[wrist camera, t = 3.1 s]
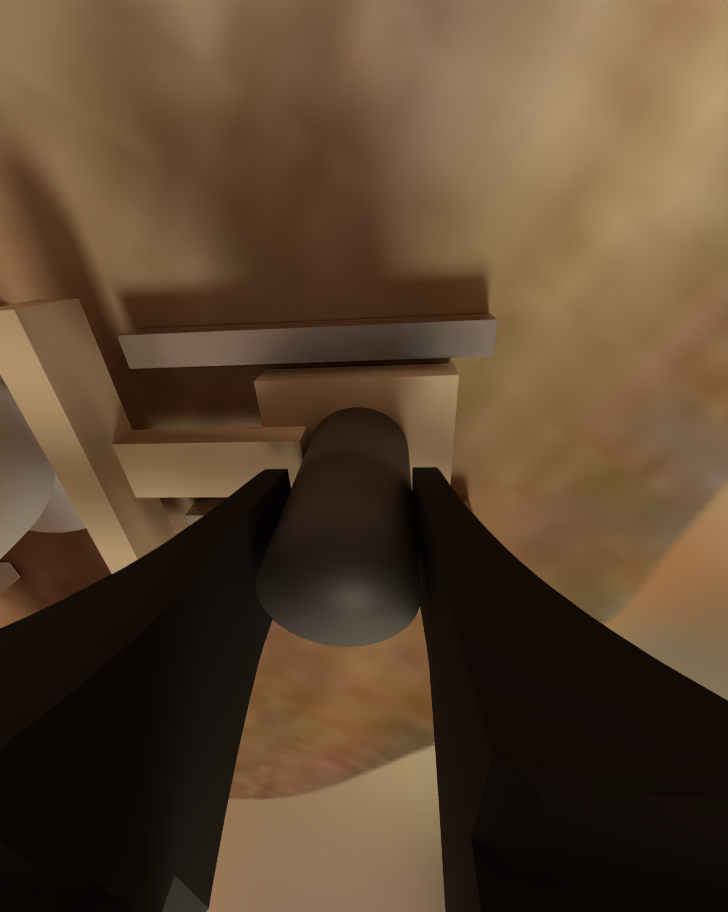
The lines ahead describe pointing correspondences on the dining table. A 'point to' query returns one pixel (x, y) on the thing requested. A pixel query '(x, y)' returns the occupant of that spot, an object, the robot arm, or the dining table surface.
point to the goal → (7, 576)
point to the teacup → (28, 482)
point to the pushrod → (250, 469)
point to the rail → (309, 347)
